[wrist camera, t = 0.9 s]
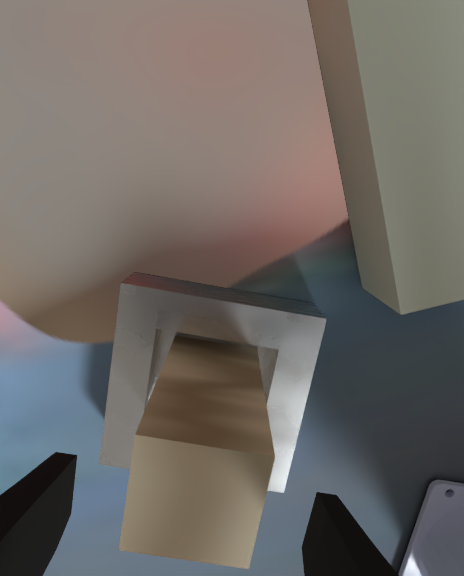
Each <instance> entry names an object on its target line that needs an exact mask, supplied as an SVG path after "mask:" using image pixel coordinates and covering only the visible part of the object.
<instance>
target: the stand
mask: <svg viewBox="0 0 464 576" xmlns="http://www.w3.org/2000/svg"><path fill="white" fill-rule="evenodd" d="M326 321H327V319H326V317H325V316H324V315H323V313H322V312H321V311H320V310H319V308H318V307H317V306H316V305H315V304H314V303H308V302H302V301H297V300H291V299H285V298H280V297H274V296H268V295H263V294H257V293H251V292H246V291H240V290H235V289H229V288H223V287H218V286H211V285H206V284H201V283H195V282H189V281H184V280H177V279H172V278H167V277H160V276H155V275H150V274H143V273H138V272H134V273H133V274H132V275H131V276H129V277H128V278H127V279H125V280H124V281H123V282H121V285H120V293H119V302H118V310H117V319H116V328H115V336H114V344H113V352H112V360H111V369H110V377H109V385H108V394H107V402H106V411H105V419H104V427H103V436H102V444H101V452H100V461H99V464H101V465H107V466H114V467H120V468H127V469H130V467H131V460H132V453H133V446H134V439H135V434H136V431H137V429H138V426H139V424H140V421H141V419H142V416H143V414H144V411H145V409H146V406H147V404H148V402H149V399H150V397H151V394H152V392H153V389H154V387H155V384H156V382H157V379H158V377H159V374H160V372H161V369H162V367H163V365H164V362H165V360H166V357H167V355H168V352H169V350H170V347H171V345H172V342H173V340H174V337H175V335H176V336H182V337H188V338H194V339H200V340H205V341H211V342H217V343H223V344H229V345H235V346H241V347H246V348H252V349H257V352H258V358H259V363H260V369H261V375H262V381H263V387H264V393H265V399H266V405H267V411H268V417H269V423H270V429H271V435H272V441H273V447H274V453H275V460H274V464H273V468H272V473H271V477H270V481H269V485H268V491H275V492H281V493H284V489H285V485H286V481H287V477H288V473H289V469H290V465H291V461H292V457H293V453H294V449H295V445H296V441H297V437H298V433H299V429H300V425H301V421H302V417H303V413H304V409H305V405H306V401H307V397H308V393H309V389H310V385H311V381H312V377H313V373H314V369H315V365H316V361H317V357H318V353H319V349H320V345H321V341H322V337H323V333H324V329H325V325H326Z"/></svg>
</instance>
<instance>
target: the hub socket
mask: <svg viewBox="0 0 464 576" xmlns="http://www.w3.org/2000/svg"><path fill="white" fill-rule="evenodd" d="M307 1H308V6H309V12H310V17H311V22H312V27H313V33H314V38H315V43H316V48H317V54H318V59H319V64H320V69H321V75H322V80H323V85H324V90H325V96H326V101H327V106H328V111H329V116H330V122H331V127H332V132H333V137H334V143H335V148H336V153H337V158H338V164H339V169H340V174H341V179H342V184H343V190H344V195H345V200H346V206H347V211H348V216H349V221H350V227H351V232H352V237H353V242H354V248H355V253H356V258H357V263H358V269H359V274H360V279H361V284H362V288H363V289H364V290H366V291H367V292H369V293H370V294H371V295H373V296H374V297H376V298H377V299H379V300H380V301H381V302H383V303H384V304H386V305H387V306H389V307H390V308H392V309H393V310H394V311H396V312H397V313H399V314H400V315H403V314H407V313H411V312H415V311H420V310H424V309H428V308H432V307H436V306H440V305H444V304H448V303H452V302H456V301H460V300H464V0H307Z"/></svg>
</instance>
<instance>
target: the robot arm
mask: <svg viewBox="0 0 464 576" xmlns="http://www.w3.org/2000/svg"><path fill="white" fill-rule="evenodd" d="M76 461H77V455H72V454H65V453H59V452H56V453H54V454H53V455H51V456H50V457H49V458H48V459H46V460H45V461H44V462H42V463H41V464H40V465H39V466H37V467H36V468H35V469H34V470H32V471H31V472H30V473H29V474H27V475H26V476H25V477H24V478H22V479H21V480H20V481H18V482H17V483H16V484H15V485H13V486H12V487H11V488H9V489H8V490H7V491H5V492H4V493H3V494H1V495H0V576H42V575H43V574H44V572H45V570H46V568H47V566H48V564H49V562H50V560H51V559H52V557H53V555H54V553H55V551H56V549H57V546H58V544H59V542H60V539H61V537H62V535H63V532H64V530H65V527H66V525H67V522H68V520H69V517H70V515H71V509H72V500H73V490H74V480H75V471H76ZM449 489H450V490H449ZM447 490H449V491H448V492H446V491H447ZM302 554H303V564H304V573H305V576H464V483H458V482H451V481H445V480H435V481H433V482H431V483H430V485H429V487H428V490H427V493H426V496H425V499H424V501H423V504H422V507H421V510H420V513H419V516H418V519H417V522H416V525H415V527H414V530H413V533H412V536H411V539H410V542H409V545H408V548H407V550H406V553H405V556H404V559H403V562H402V565H401V568H400V571H399V574H397V573H396V571H395V570H394V569H393V568H392V566H391V565H390V564H389V563H388V562H387V560H386V559H385V558H384V557H383V555H382V554H381V553H380V552H379V550H378V549H377V548H376V546H375V545H374V544H373V543H372V541H371V540H370V539H369V537H368V536H367V535H366V534H365V532H364V531H363V530H362V528H361V527H360V526H359V524H358V523H357V522H356V520H355V519H354V518H353V516H352V515H351V514H350V512H349V511H348V509H347V508H346V507H345V505H344V504H343V503H342V501H341V500H340V499H339V498H338V496H337V495H332V494H326V493H319V492H317V493H316V497H315V501H314V504H313V508H312V512H311V515H310V519H309V523H308V526H307V530H306V534H305V537H304V541H303V545H302Z"/></svg>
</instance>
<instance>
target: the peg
mask: <svg viewBox="0 0 464 576" xmlns="http://www.w3.org/2000/svg"><path fill="white" fill-rule="evenodd" d="M274 460H275V453H274V447H273V441H272V435H271V429H270V423H269V417H268V411H267V405H266V399H265V393H264V387H263V381H262V375H261V369H260V363H259V358H258V352H257V349H252V348H246V347H241V346H235V345H229V344H223V343H217V342H211V341H205V340H200V339H194V338H188V337H182V336H176V335H175V337H174V340H173V342H172V345H171V347H170V350H169V352H168V355H167V357H166V360H165V362H164V365H163V367H162V369H161V372H160V374H159V377H158V379H157V382H156V384H155V387H154V389H153V392H152V394H151V397H150V399H149V402H148V404H147V406H146V409H145V411H144V414H143V416H142V419H141V421H140V424H139V426H138V429H137V431H136V434H135V439H134V446H133V453H132V460H131V467H130V474H129V481H128V488H127V496H126V503H125V510H124V517H123V524H122V531H121V538H120V545H119V550H121V551H128V552H135V553H142V554H149V555H156V556H162V557H169V558H176V559H183V560H190V561H197V562H203V563H210V564H217V565H224V566H231V567H238V568H244V569H249V566H250V561H251V557H252V553H253V549H254V544H255V540H256V536H257V532H258V528H259V523H260V519H261V515H262V511H263V506H264V502H265V498H266V494H267V490H268V485H269V481H270V477H271V473H272V468H273V464H274Z"/></svg>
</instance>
